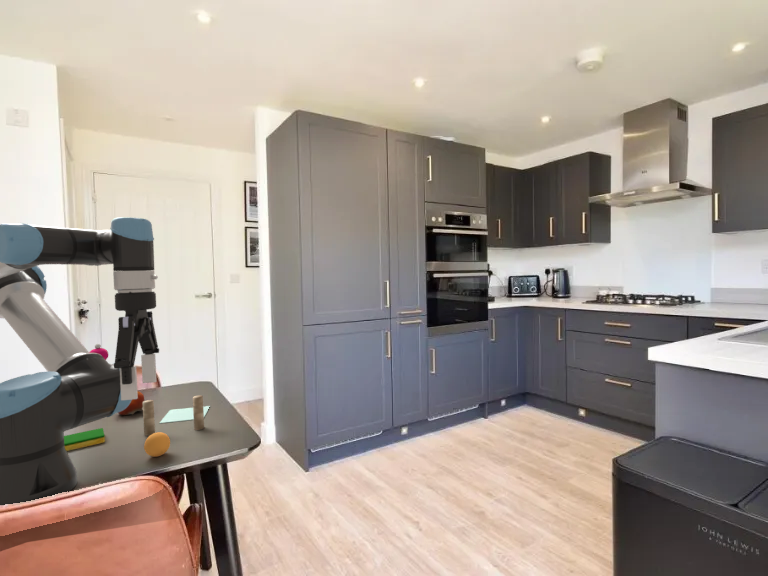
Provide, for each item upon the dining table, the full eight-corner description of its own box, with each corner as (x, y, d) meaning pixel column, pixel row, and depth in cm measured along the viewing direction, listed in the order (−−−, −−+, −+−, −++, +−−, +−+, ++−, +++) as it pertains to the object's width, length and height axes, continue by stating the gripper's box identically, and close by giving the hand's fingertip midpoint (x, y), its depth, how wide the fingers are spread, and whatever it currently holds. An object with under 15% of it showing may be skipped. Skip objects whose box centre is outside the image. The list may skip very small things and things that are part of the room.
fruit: (136, 413, 126) (123, 390, 126) (118, 425, 127) (105, 403, 128) (155, 404, 134) (143, 383, 134) (138, 416, 135) (126, 395, 136)
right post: (193, 430, 114) (191, 398, 114) (195, 427, 116) (193, 395, 116) (203, 429, 115) (201, 397, 114) (205, 426, 117) (203, 395, 117)
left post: (142, 436, 111) (141, 403, 111) (146, 432, 113) (144, 400, 113) (153, 435, 112) (151, 402, 111) (156, 431, 114) (154, 399, 114)
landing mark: (159, 423, 120) (159, 422, 120) (170, 410, 132) (170, 409, 132) (203, 418, 123) (203, 418, 123) (210, 406, 135) (210, 405, 135)
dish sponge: (37, 450, 105) (37, 441, 105) (103, 436, 113) (102, 427, 113) (36, 460, 99) (35, 450, 99) (105, 444, 108) (104, 435, 108)
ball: (141, 462, 95) (140, 438, 95) (148, 452, 100) (147, 430, 100) (167, 458, 96) (166, 435, 96) (173, 449, 102) (172, 427, 102)
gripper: (135, 292, 76) (141, 406, 77) (169, 288, 100) (173, 375, 101) (89, 294, 75) (95, 410, 75) (135, 289, 98) (139, 377, 99)
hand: (140, 390), depth 88 cm, fingers open, 12 cm apart
